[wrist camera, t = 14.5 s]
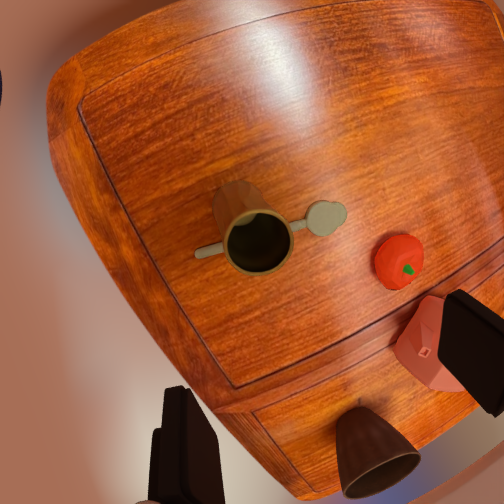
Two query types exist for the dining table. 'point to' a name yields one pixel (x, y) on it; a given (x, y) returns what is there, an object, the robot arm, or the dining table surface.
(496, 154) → the dining table surface
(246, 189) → the vase
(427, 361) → the teapot
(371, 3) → the dining table surface
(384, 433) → the flower pot
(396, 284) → the pumpkin
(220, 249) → the spoon
